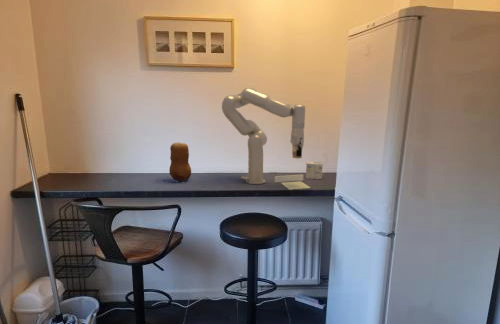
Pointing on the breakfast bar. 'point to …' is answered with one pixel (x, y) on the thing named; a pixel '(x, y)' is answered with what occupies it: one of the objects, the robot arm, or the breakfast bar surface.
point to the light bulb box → (314, 170)
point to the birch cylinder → (295, 151)
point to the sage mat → (295, 185)
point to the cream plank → (288, 178)
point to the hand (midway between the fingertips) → (296, 155)
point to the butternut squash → (179, 162)
